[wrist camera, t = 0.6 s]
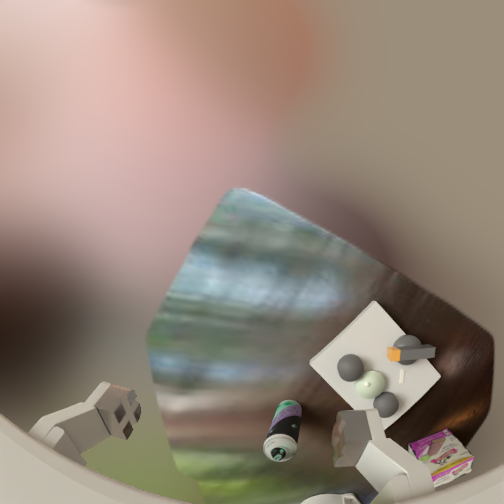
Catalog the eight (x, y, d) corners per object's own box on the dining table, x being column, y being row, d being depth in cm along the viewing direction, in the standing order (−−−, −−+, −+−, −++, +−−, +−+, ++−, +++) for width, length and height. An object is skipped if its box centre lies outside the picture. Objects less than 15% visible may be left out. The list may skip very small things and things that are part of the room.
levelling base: (436, 373, 48) (446, 380, 42) (377, 428, 49) (382, 440, 43) (372, 300, 54) (379, 301, 48) (309, 360, 55) (309, 368, 49)
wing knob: (425, 333, 47) (436, 337, 42) (423, 361, 47) (433, 367, 41) (386, 335, 49) (393, 340, 44) (383, 364, 48) (390, 371, 43)
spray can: (303, 400, 54) (297, 445, 35) (300, 421, 53) (292, 470, 34) (278, 398, 55) (261, 442, 36) (276, 419, 54) (259, 467, 35)
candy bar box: (447, 426, 45) (475, 455, 29) (446, 441, 44) (472, 471, 28) (407, 442, 46) (427, 478, 31) (407, 457, 46) (425, 493, 30)
